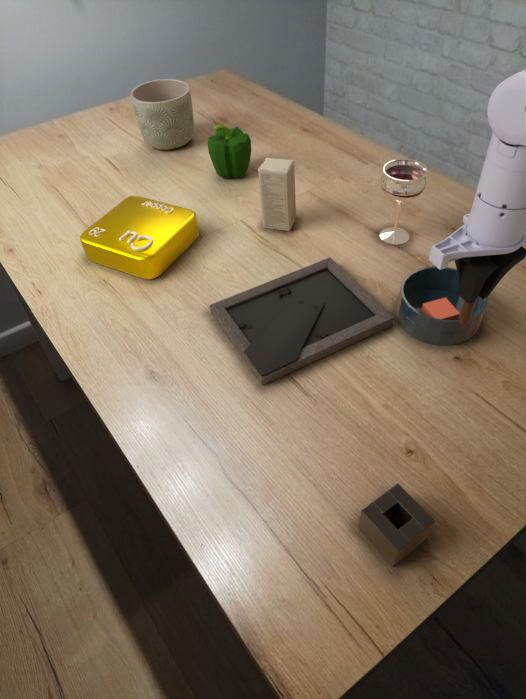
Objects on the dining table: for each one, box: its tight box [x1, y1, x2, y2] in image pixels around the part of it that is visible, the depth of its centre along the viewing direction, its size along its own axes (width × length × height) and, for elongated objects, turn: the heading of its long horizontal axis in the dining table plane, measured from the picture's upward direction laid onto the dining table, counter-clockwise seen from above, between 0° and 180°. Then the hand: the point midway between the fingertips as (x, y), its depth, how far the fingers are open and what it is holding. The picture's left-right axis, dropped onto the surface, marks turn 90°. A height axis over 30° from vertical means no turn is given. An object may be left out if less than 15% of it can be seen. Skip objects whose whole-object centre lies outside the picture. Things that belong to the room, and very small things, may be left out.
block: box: [421, 297, 460, 320], centre depth 70 cm, size 4×4×4 cm
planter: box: [130, 78, 195, 151], centre depth 111 cm, size 12×12×11 cm
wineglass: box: [379, 158, 429, 246], centre depth 83 cm, size 7×7×12 cm
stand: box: [357, 482, 436, 568], centre depth 51 cm, size 5×5×4 cm
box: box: [257, 157, 297, 232], centre depth 87 cm, size 5×4×11 cm
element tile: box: [79, 195, 200, 280], centre depth 87 cm, size 15×15×5 cm
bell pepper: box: [206, 124, 252, 179], centre depth 100 cm, size 8×8×10 cm
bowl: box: [395, 265, 489, 346], centre depth 72 cm, size 11×11×4 cm
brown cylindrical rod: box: [458, 257, 491, 326], centre depth 61 cm, size 1×1×10 cm
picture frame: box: [209, 257, 395, 386], centre depth 74 cm, size 16×2×21 cm
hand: (472, 295), depth 62 cm, fingers closed on brown cylindrical rod, 1 cm apart
